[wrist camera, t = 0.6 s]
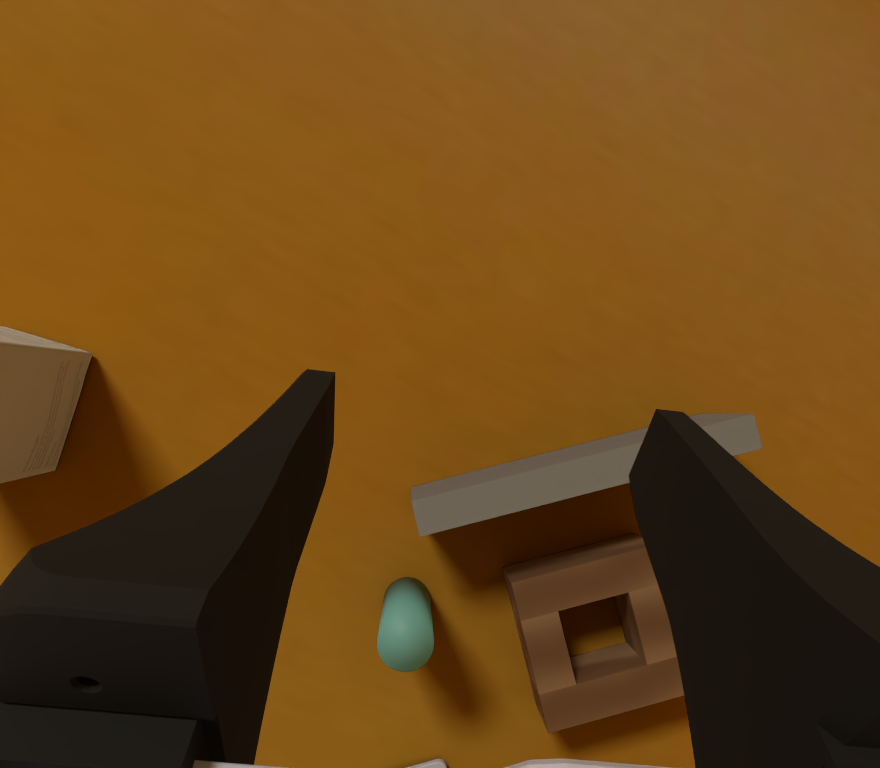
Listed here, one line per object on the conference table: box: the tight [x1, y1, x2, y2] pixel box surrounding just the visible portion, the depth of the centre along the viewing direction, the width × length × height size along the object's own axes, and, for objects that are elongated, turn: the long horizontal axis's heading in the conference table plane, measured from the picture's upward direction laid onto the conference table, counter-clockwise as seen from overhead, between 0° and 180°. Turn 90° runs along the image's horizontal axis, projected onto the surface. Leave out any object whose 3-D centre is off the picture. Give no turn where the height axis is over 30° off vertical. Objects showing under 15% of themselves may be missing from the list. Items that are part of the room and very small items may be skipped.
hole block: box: [503, 533, 684, 733], centre depth 37 cm, size 9×9×4 cm
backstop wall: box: [411, 413, 762, 537], centre depth 36 cm, size 2×20×6 cm, turn 104°
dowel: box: [377, 577, 434, 672], centre depth 35 cm, size 3×3×7 cm
